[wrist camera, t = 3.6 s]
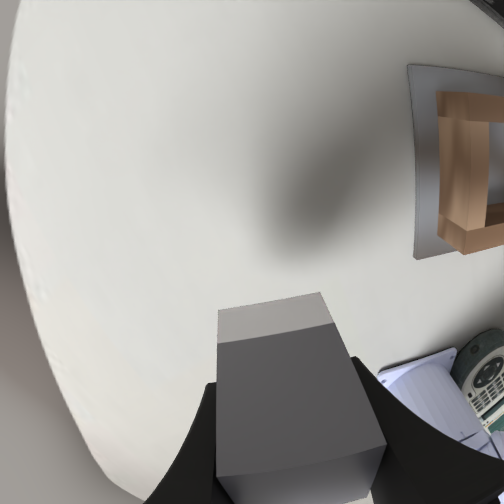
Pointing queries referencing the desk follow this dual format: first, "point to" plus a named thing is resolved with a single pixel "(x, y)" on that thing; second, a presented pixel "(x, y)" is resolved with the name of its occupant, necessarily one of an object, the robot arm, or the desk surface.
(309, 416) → the connector plug
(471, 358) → the communication device
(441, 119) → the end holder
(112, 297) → the desk surface
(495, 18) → the phone
